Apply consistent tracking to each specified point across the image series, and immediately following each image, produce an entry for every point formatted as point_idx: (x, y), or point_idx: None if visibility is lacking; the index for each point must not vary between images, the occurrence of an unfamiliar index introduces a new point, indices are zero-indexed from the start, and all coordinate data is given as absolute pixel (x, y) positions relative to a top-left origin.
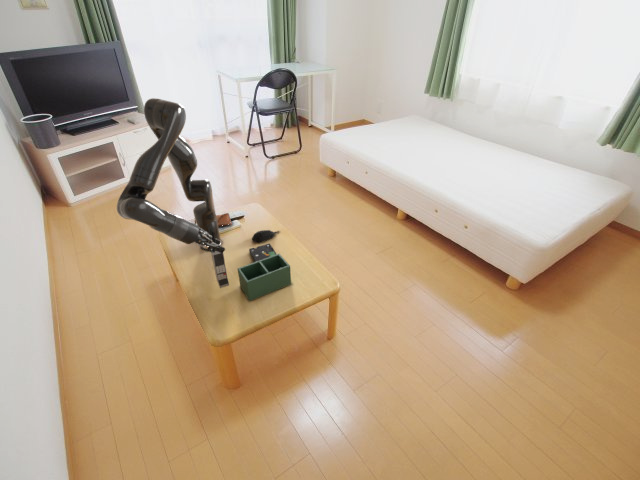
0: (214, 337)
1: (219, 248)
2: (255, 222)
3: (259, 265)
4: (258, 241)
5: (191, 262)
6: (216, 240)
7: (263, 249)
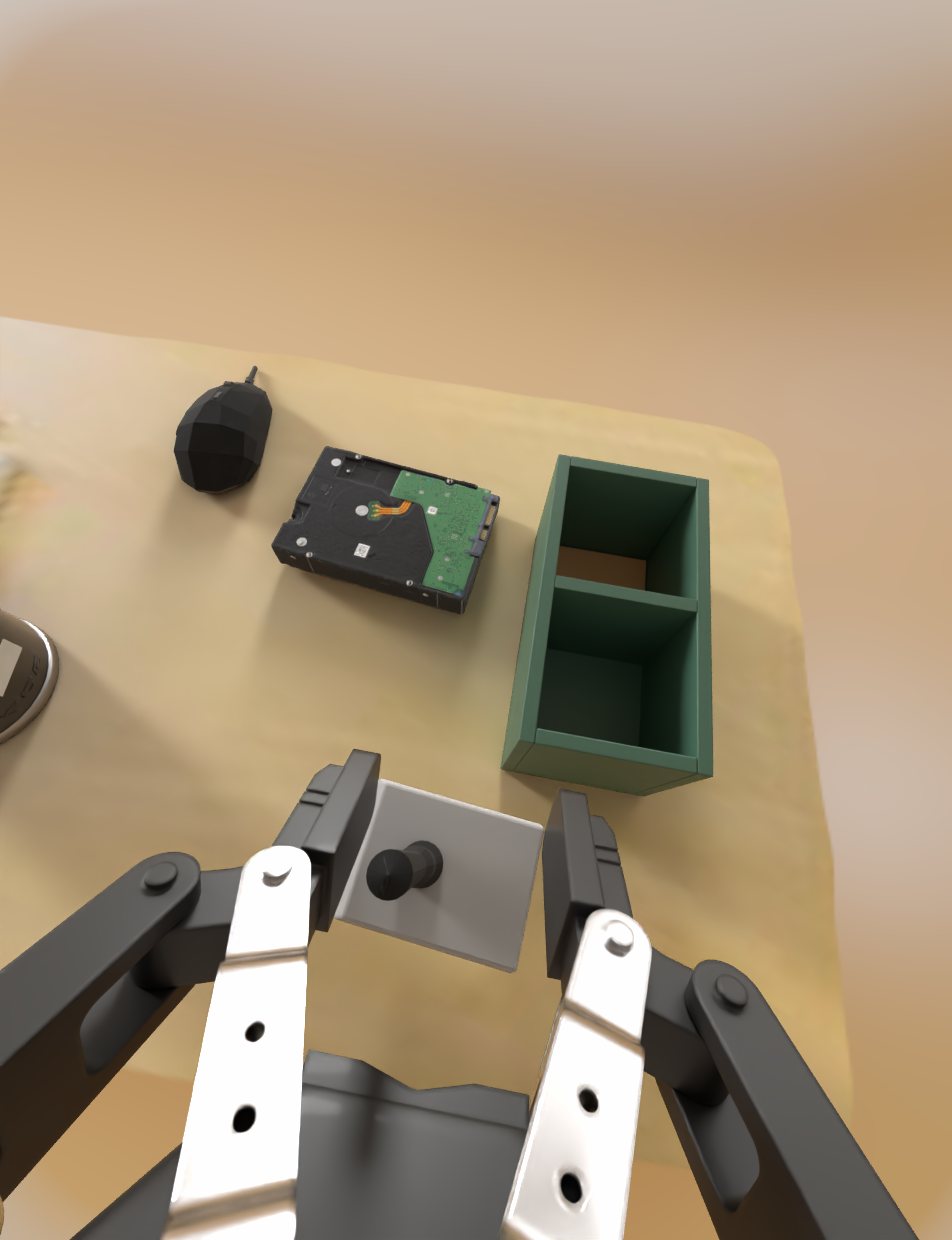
0: None
1: (625, 895)
2: (72, 393)
3: (553, 600)
4: (243, 475)
5: (17, 907)
6: (359, 802)
7: (344, 496)
